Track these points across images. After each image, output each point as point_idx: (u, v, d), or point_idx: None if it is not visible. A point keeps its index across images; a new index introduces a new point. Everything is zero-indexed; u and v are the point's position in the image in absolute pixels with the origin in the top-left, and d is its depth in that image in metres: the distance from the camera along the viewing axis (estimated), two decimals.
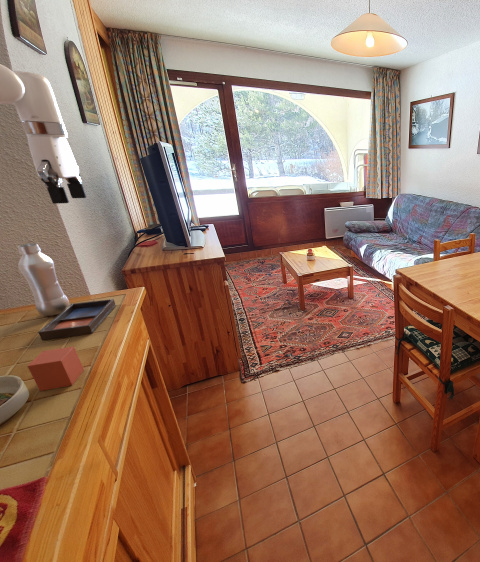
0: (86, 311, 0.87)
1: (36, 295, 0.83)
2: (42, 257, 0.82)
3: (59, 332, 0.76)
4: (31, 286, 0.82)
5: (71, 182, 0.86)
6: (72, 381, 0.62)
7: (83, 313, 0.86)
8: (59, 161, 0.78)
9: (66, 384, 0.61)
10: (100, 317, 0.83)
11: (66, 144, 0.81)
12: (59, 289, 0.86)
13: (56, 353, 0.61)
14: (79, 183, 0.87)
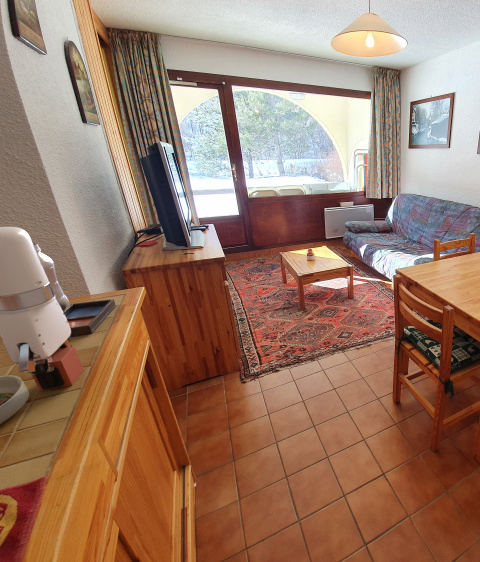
0: (86, 311, 0.87)
1: None
2: (42, 257, 0.82)
3: None
4: None
5: None
6: (72, 381, 0.62)
7: (83, 313, 0.86)
8: (43, 338, 0.56)
9: (66, 384, 0.61)
10: (100, 317, 0.83)
11: (53, 305, 0.59)
12: (59, 289, 0.86)
13: (56, 353, 0.61)
14: None
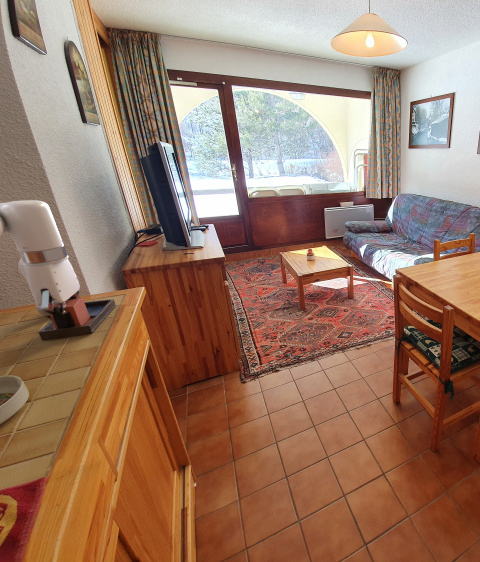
0: None
1: None
2: None
3: (59, 332, 0.76)
4: None
5: None
6: (81, 324, 0.79)
7: None
8: (59, 287, 0.73)
9: None
10: (100, 317, 0.83)
11: (66, 263, 0.76)
12: None
13: (69, 302, 0.78)
14: None
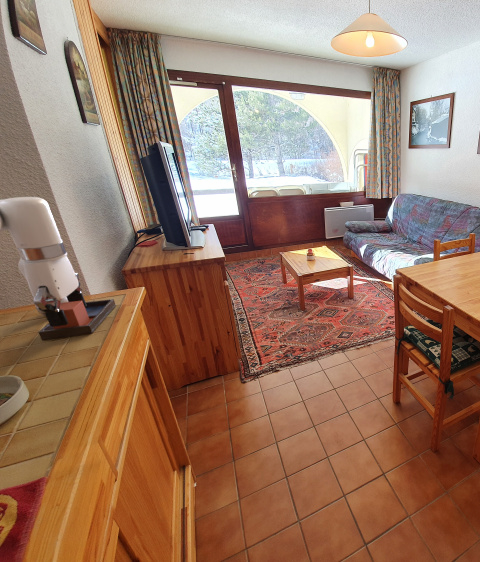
0: (86, 311, 0.87)
1: None
2: None
3: (59, 332, 0.76)
4: None
5: (70, 293, 0.81)
6: None
7: None
8: (58, 284, 0.72)
9: None
10: (100, 317, 0.83)
11: (65, 260, 0.76)
12: None
13: (69, 304, 0.78)
14: (79, 293, 0.82)
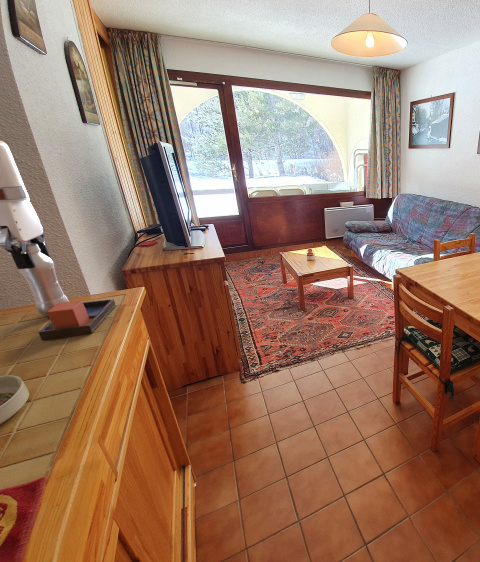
0: (86, 311, 0.87)
1: (36, 295, 0.83)
2: (42, 257, 0.82)
3: (59, 332, 0.76)
4: (31, 286, 0.82)
5: None
6: None
7: None
8: (19, 225, 0.75)
9: None
10: (100, 317, 0.83)
11: (28, 205, 0.79)
12: (59, 289, 0.86)
13: (69, 304, 0.78)
14: (42, 245, 0.84)
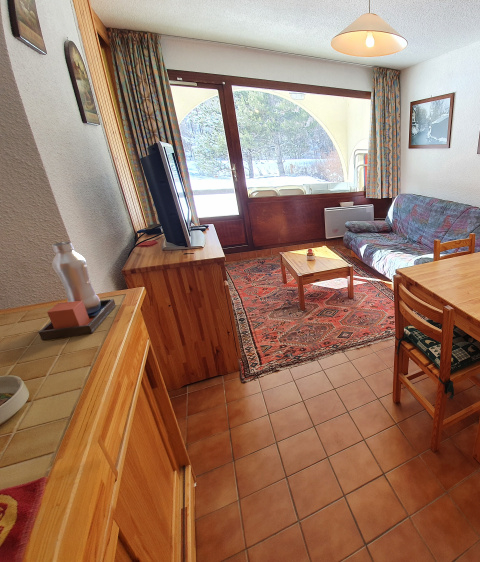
0: None
1: (69, 294, 0.82)
2: (76, 255, 0.81)
3: (59, 332, 0.76)
4: (64, 285, 0.81)
5: None
6: None
7: None
8: None
9: None
10: (100, 317, 0.83)
11: None
12: (91, 288, 0.85)
13: (69, 304, 0.78)
14: None
